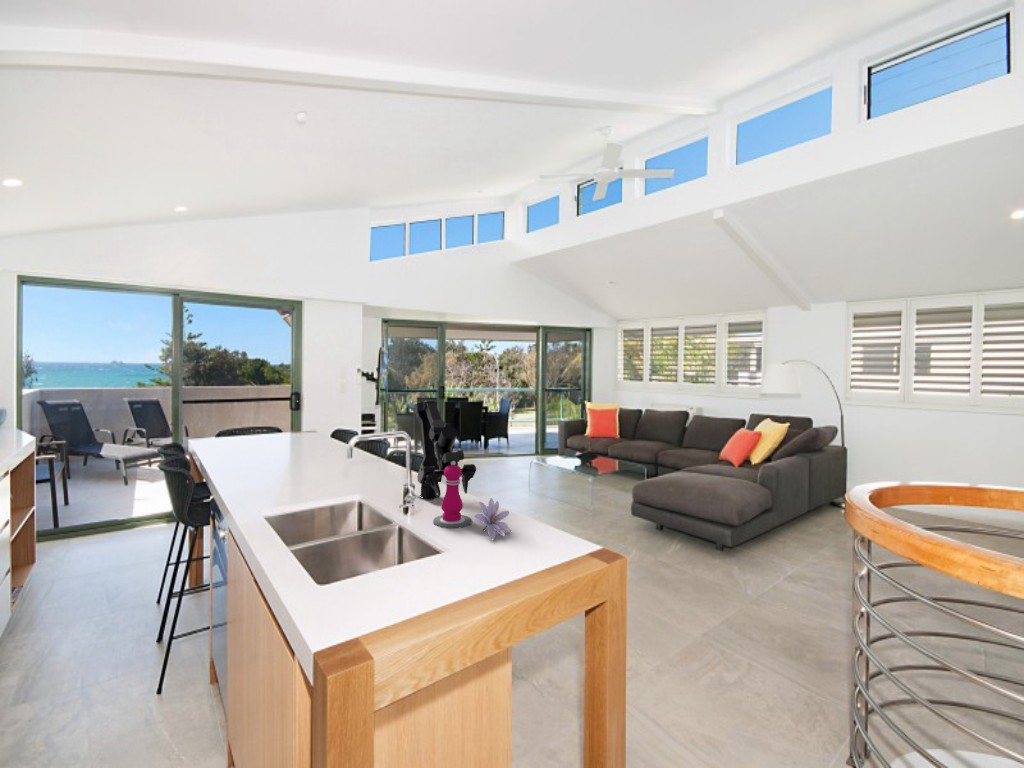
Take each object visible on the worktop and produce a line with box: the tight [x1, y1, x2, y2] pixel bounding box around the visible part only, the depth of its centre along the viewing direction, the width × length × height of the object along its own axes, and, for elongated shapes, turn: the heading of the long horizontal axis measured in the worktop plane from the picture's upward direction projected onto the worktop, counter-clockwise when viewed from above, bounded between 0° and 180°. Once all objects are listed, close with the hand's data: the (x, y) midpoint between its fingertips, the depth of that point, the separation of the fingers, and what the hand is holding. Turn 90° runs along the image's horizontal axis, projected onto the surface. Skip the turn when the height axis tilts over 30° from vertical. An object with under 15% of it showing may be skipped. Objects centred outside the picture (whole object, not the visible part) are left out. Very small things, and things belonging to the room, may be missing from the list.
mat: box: [432, 514, 473, 529], centre depth 169 cm, size 13×13×1 cm
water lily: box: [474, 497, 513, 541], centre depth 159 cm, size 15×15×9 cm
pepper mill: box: [440, 461, 464, 521], centre depth 170 cm, size 7×7×20 cm
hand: (453, 494), depth 169 cm, fingers open, 9 cm apart
